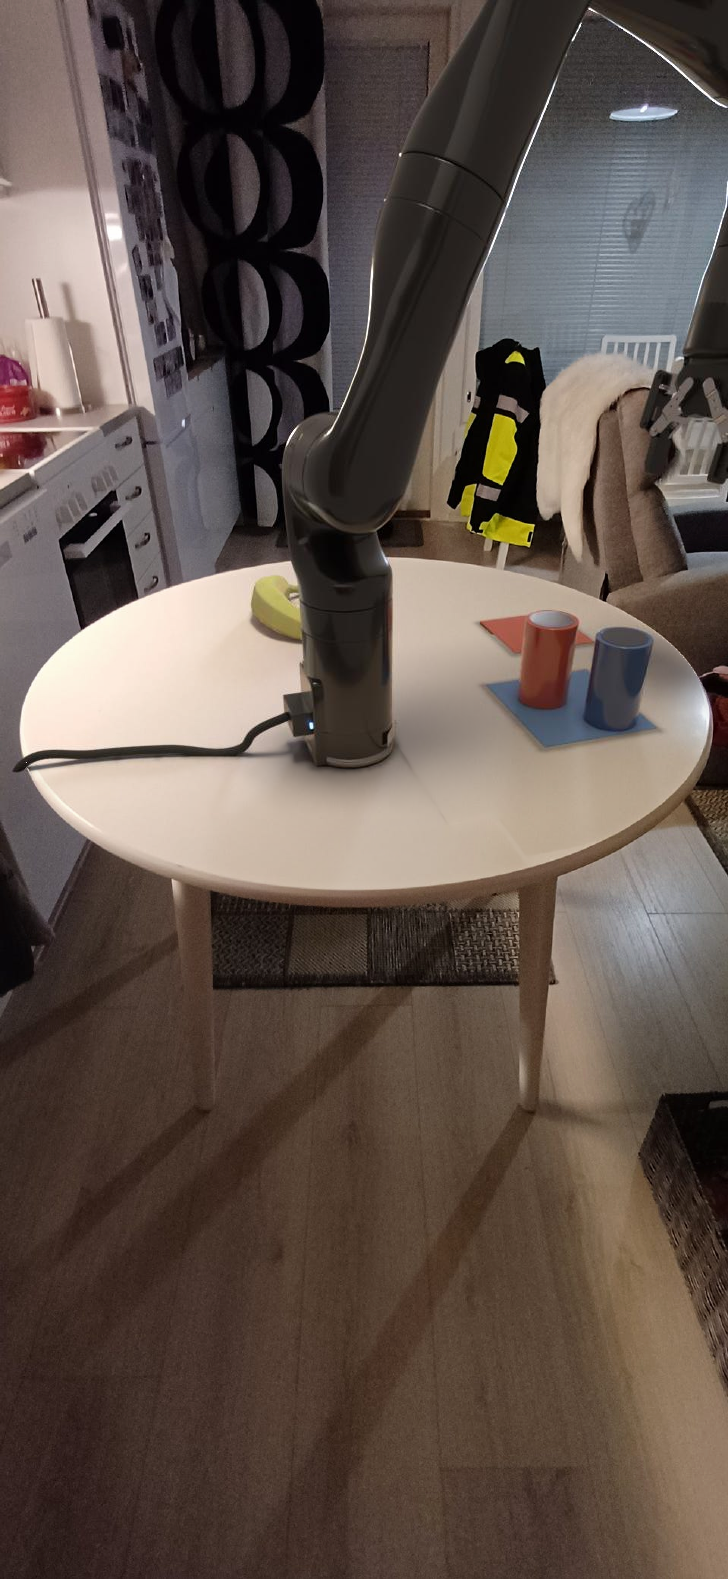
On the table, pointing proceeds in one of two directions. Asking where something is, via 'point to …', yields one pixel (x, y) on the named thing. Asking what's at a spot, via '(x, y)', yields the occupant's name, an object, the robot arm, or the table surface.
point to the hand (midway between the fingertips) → (682, 478)
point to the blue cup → (617, 678)
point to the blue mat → (559, 714)
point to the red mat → (517, 632)
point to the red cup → (547, 659)
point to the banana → (276, 606)
